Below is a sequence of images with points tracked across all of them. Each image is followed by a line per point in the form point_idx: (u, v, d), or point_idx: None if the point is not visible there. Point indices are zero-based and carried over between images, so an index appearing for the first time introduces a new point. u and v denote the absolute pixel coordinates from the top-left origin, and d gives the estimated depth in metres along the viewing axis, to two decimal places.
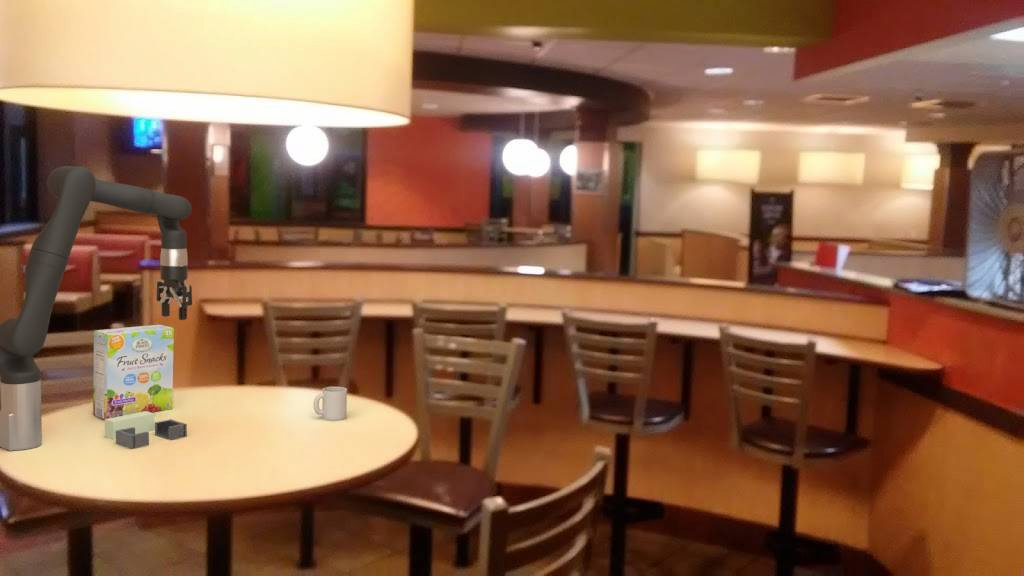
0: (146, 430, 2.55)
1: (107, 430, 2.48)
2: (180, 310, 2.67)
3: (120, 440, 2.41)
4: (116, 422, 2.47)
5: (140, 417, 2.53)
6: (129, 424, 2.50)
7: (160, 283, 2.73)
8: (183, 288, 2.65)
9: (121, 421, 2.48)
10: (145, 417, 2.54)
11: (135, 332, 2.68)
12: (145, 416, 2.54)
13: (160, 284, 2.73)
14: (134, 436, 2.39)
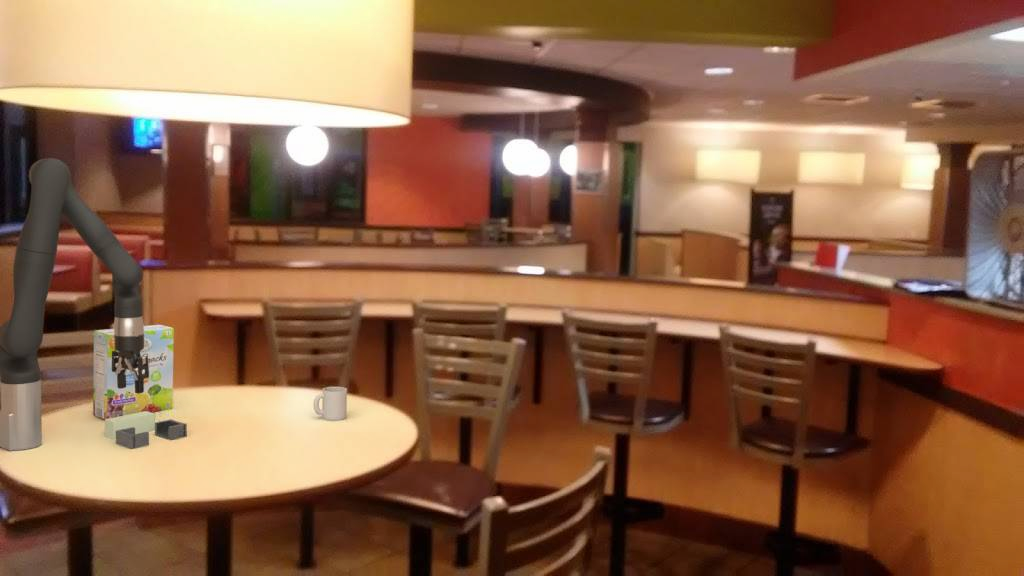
0: (146, 430, 2.55)
1: (108, 430, 2.48)
2: (136, 383, 2.48)
3: (120, 440, 2.41)
4: (116, 422, 2.47)
5: (140, 417, 2.53)
6: (129, 424, 2.50)
7: (115, 353, 2.53)
8: (139, 360, 2.46)
9: (121, 421, 2.48)
10: (145, 417, 2.54)
11: None
12: (145, 416, 2.54)
13: (115, 354, 2.53)
14: (134, 436, 2.39)
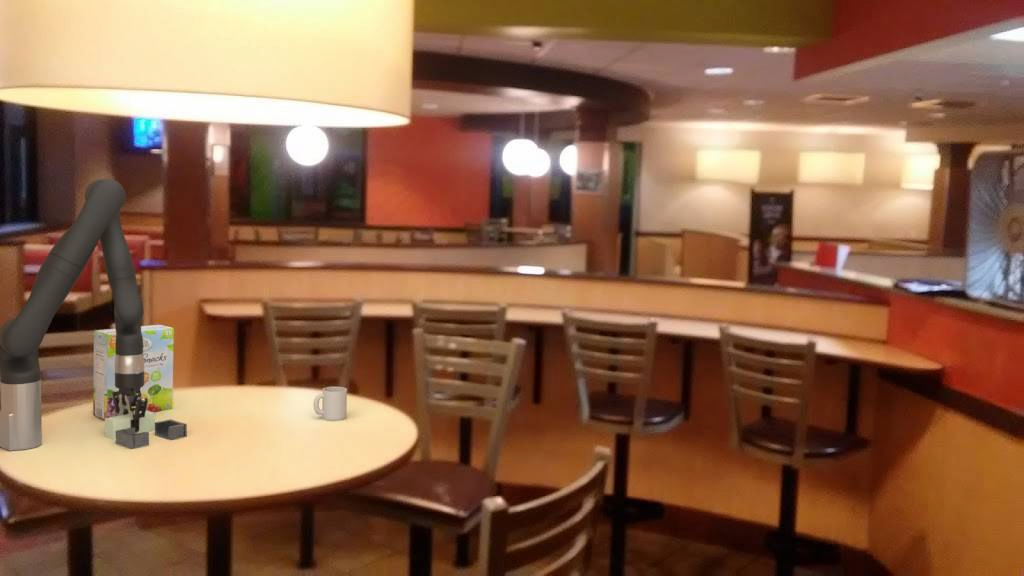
0: (146, 430, 2.55)
1: (107, 429, 2.48)
2: (132, 422, 2.50)
3: (120, 440, 2.41)
4: (116, 421, 2.47)
5: None
6: (129, 423, 2.50)
7: (115, 393, 2.54)
8: (138, 402, 2.47)
9: (121, 420, 2.48)
10: (145, 416, 2.54)
11: None
12: (145, 415, 2.54)
13: (116, 394, 2.54)
14: (134, 436, 2.39)
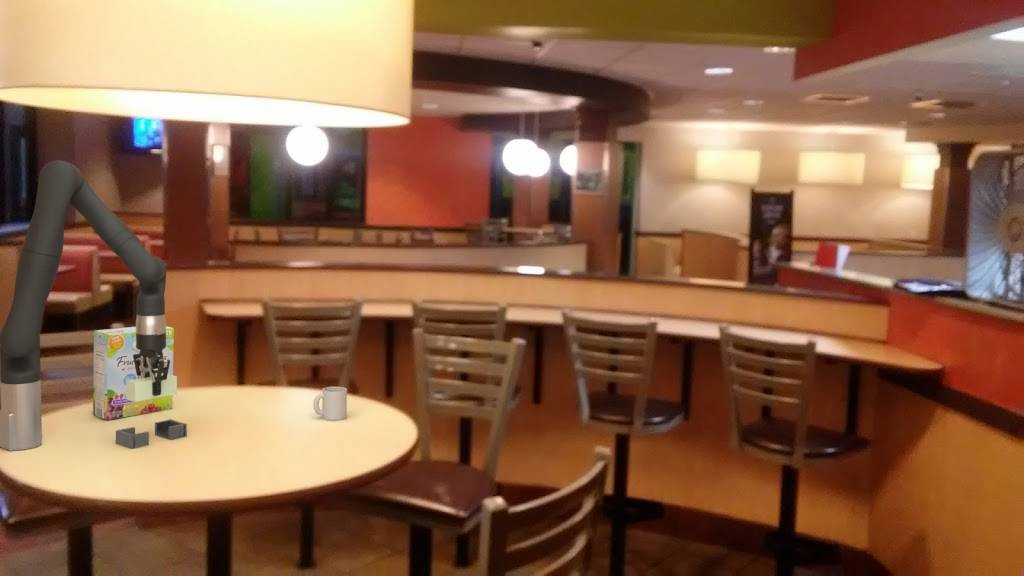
0: (168, 393, 2.48)
1: (129, 392, 2.41)
2: (153, 385, 2.43)
3: (120, 440, 2.41)
4: (138, 383, 2.40)
5: None
6: (151, 386, 2.43)
7: (136, 355, 2.47)
8: (160, 364, 2.40)
9: (143, 383, 2.41)
10: (167, 379, 2.47)
11: (135, 332, 2.68)
12: (167, 378, 2.47)
13: (137, 356, 2.47)
14: (134, 436, 2.39)
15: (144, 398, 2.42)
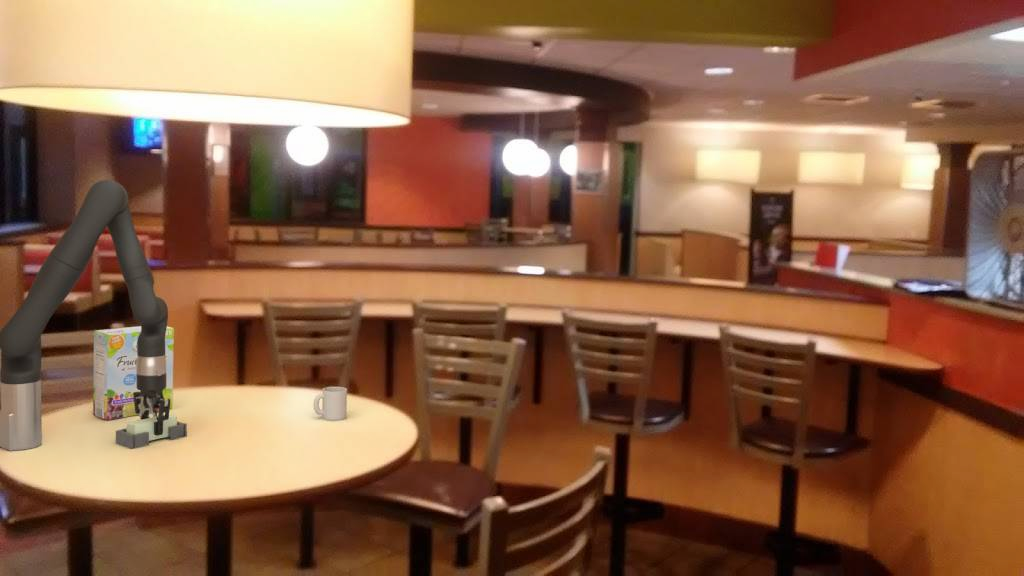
0: None
1: None
2: (155, 425, 2.44)
3: (120, 440, 2.41)
4: (138, 426, 2.41)
5: None
6: (151, 427, 2.45)
7: (137, 393, 2.49)
8: (161, 403, 2.41)
9: (143, 425, 2.43)
10: (167, 420, 2.48)
11: (135, 332, 2.68)
12: None
13: (137, 394, 2.49)
14: (134, 436, 2.39)
15: None
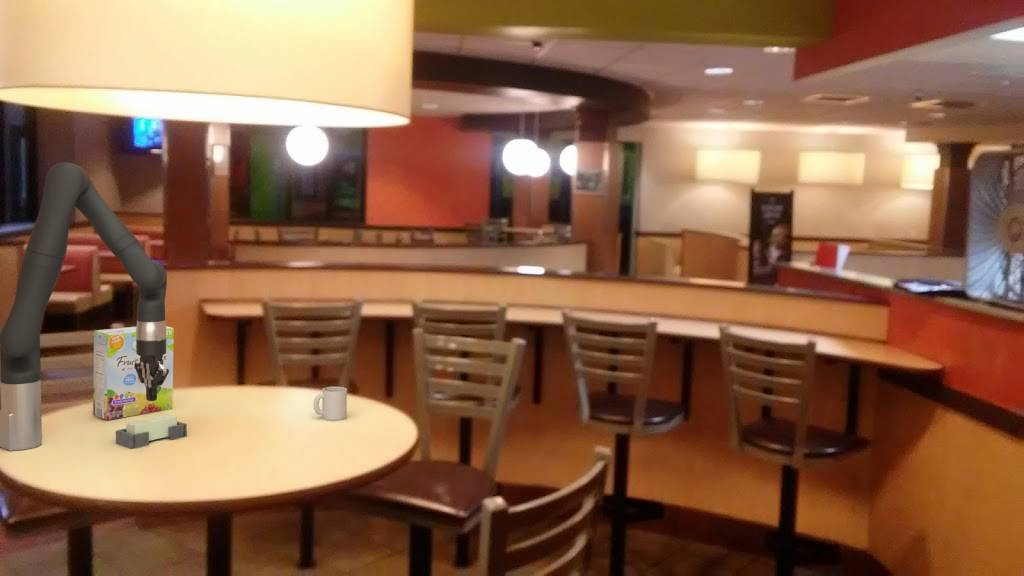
0: None
1: None
2: (149, 390, 2.45)
3: (120, 440, 2.41)
4: (138, 426, 2.41)
5: (162, 420, 2.47)
6: (151, 427, 2.45)
7: (137, 364, 2.47)
8: (159, 373, 2.41)
9: (143, 425, 2.43)
10: (167, 420, 2.48)
11: (135, 332, 2.68)
12: (167, 419, 2.48)
13: (138, 365, 2.47)
14: (134, 436, 2.39)
15: None
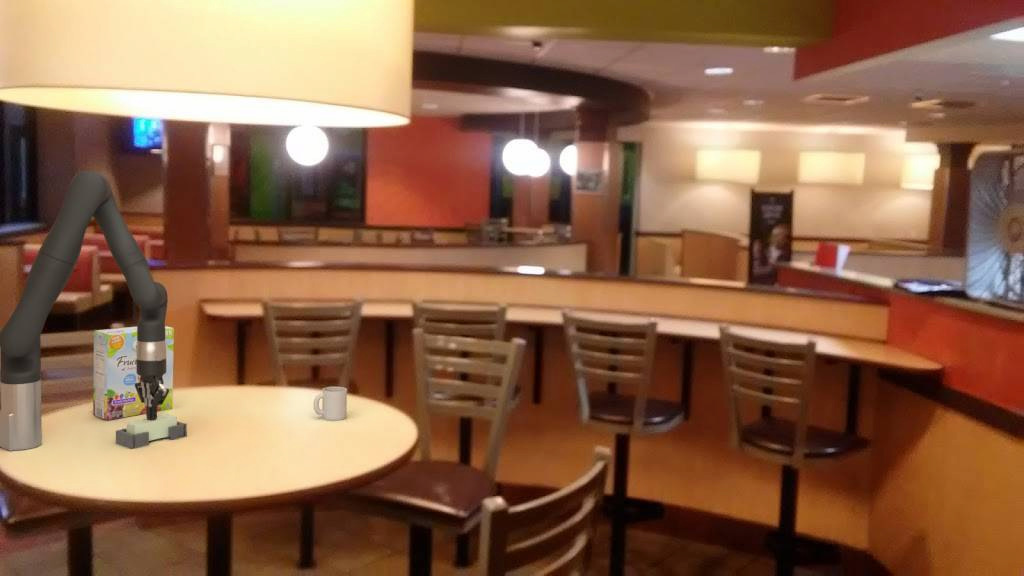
0: None
1: None
2: (150, 410, 2.45)
3: (120, 440, 2.41)
4: (138, 426, 2.41)
5: (162, 420, 2.47)
6: (151, 427, 2.45)
7: (138, 383, 2.48)
8: (159, 393, 2.41)
9: (143, 425, 2.43)
10: (167, 420, 2.48)
11: (135, 332, 2.68)
12: (167, 419, 2.48)
13: (138, 384, 2.48)
14: (134, 436, 2.39)
15: None
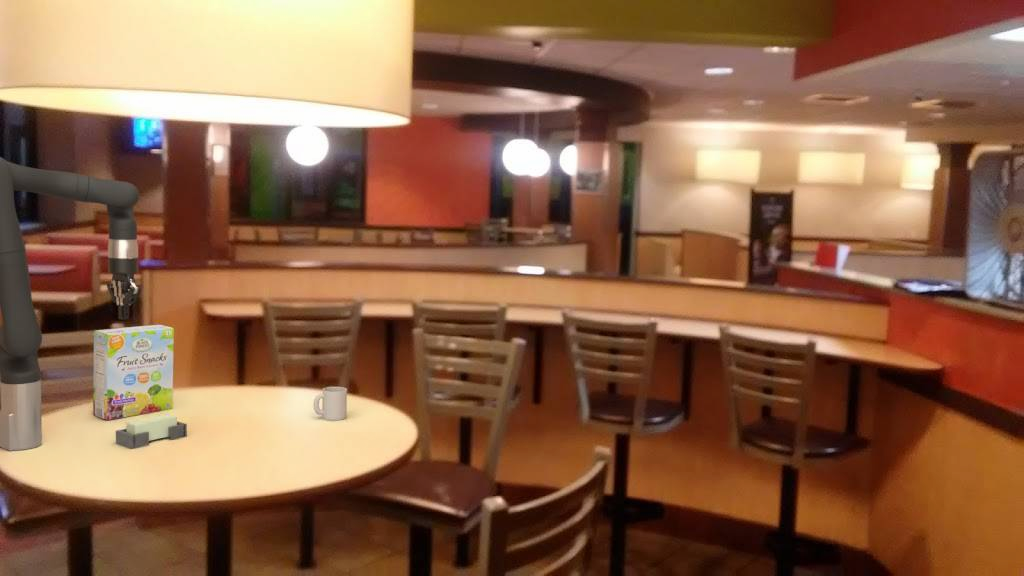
0: None
1: None
2: (121, 309, 2.48)
3: (120, 440, 2.41)
4: (138, 426, 2.41)
5: (162, 420, 2.47)
6: (151, 427, 2.45)
7: (110, 284, 2.50)
8: (130, 290, 2.44)
9: (143, 425, 2.43)
10: (167, 420, 2.48)
11: (135, 332, 2.68)
12: (167, 419, 2.48)
13: (110, 284, 2.50)
14: (134, 436, 2.39)
15: None
